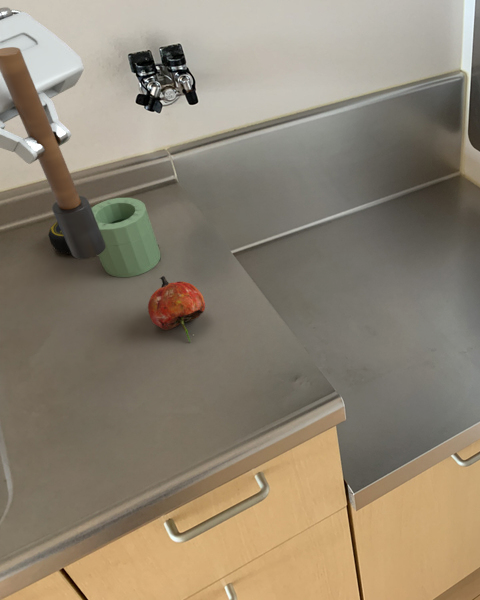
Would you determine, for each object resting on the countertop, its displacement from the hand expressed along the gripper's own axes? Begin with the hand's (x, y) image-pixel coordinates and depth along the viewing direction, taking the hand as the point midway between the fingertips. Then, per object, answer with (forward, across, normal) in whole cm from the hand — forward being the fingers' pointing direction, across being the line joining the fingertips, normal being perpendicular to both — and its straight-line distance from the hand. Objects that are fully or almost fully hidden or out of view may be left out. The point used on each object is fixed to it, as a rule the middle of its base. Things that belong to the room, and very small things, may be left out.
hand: (51, 149), depth 60 cm
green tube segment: (+11, -18, -33) cm, 39 cm away
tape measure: (+4, -19, -40) cm, 45 cm away
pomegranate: (+23, -8, -21) cm, 32 cm away
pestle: (+8, 0, -9) cm, 13 cm away
